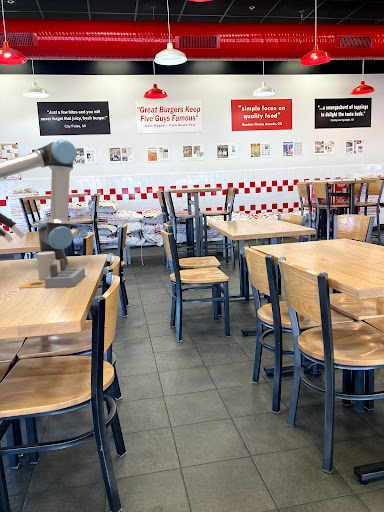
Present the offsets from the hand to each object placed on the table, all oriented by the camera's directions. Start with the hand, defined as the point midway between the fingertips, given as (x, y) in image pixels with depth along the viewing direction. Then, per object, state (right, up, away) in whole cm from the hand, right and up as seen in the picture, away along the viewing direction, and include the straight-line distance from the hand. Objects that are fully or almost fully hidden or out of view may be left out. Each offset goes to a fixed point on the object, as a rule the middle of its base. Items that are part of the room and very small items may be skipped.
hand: (17, 238), depth 195 cm
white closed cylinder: (+13, -19, +4) cm, 23 cm away
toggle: (+20, -15, -6) cm, 26 cm away
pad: (+12, -21, -8) cm, 25 cm away
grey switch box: (+24, -20, -5) cm, 31 cm away
